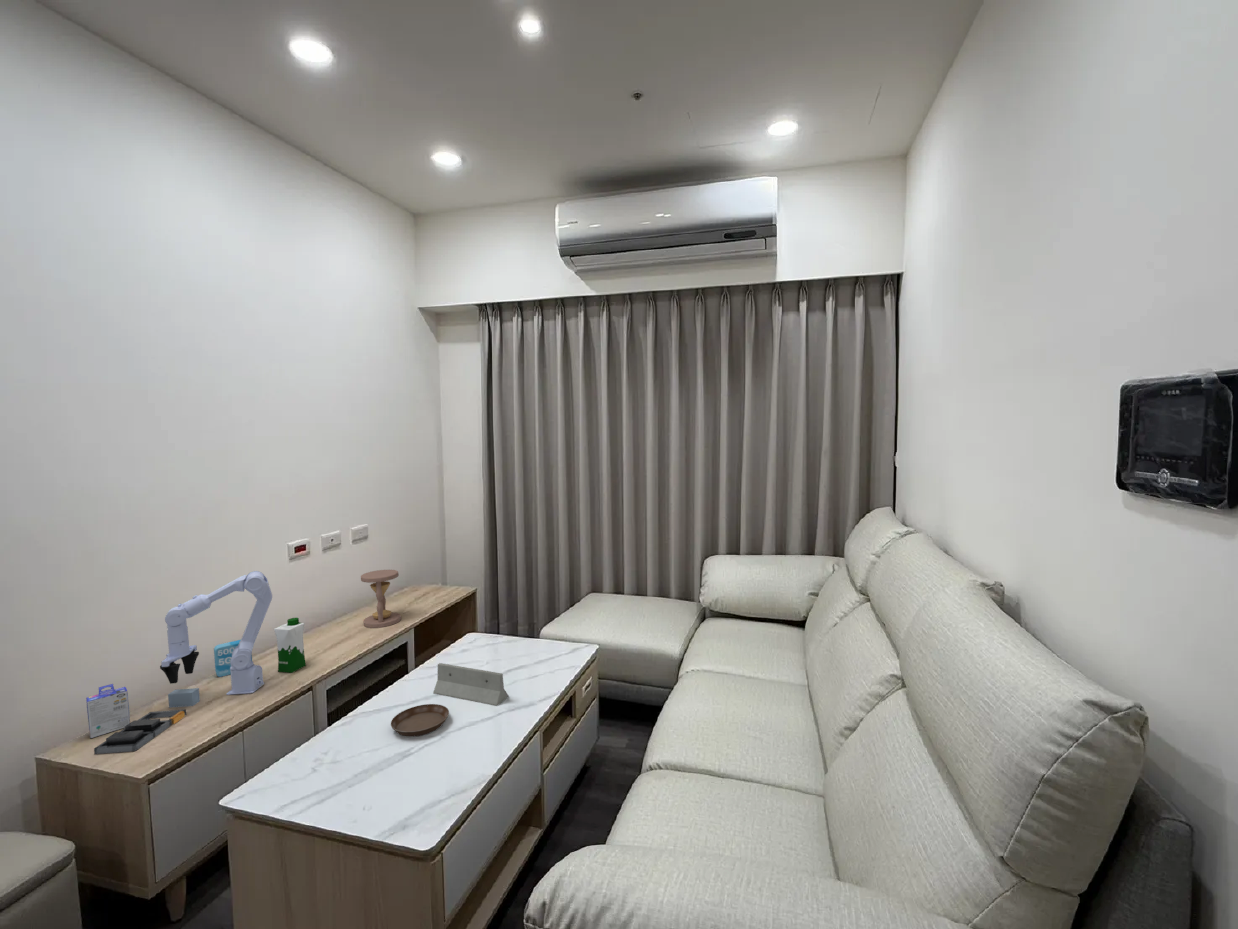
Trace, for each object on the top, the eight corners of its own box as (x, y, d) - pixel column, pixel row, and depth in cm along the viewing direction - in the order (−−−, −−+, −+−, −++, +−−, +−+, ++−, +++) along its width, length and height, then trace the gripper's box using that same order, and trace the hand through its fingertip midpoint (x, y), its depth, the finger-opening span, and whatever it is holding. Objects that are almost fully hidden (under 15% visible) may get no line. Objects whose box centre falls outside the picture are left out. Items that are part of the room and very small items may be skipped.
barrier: (508, 697, 193) (507, 669, 192) (496, 706, 186) (495, 678, 186) (446, 685, 203) (445, 659, 203) (433, 694, 197) (431, 667, 196)
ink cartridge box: (129, 720, 184) (125, 679, 184) (131, 726, 181) (127, 683, 180) (88, 733, 177) (84, 690, 176) (90, 739, 173) (86, 695, 173)
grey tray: (187, 714, 187) (187, 704, 187) (136, 751, 166) (135, 740, 165) (150, 716, 186) (149, 707, 186) (94, 754, 165) (93, 743, 164)
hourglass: (370, 617, 285) (367, 570, 283) (405, 615, 287) (402, 568, 285) (358, 629, 267) (355, 579, 266) (395, 626, 269) (392, 577, 268)
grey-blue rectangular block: (199, 701, 197) (198, 688, 197) (192, 706, 193) (191, 692, 193) (176, 703, 196) (175, 689, 196) (169, 708, 193) (168, 694, 192)
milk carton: (309, 665, 226) (306, 617, 225) (291, 674, 217) (288, 625, 216) (292, 663, 228) (289, 616, 227) (273, 672, 219) (270, 624, 218)
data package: (216, 678, 216) (214, 648, 216) (215, 674, 220) (213, 645, 219) (252, 668, 224) (250, 640, 223) (251, 665, 227) (249, 637, 227)
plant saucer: (392, 718, 180) (391, 709, 180) (447, 707, 187) (447, 699, 187) (390, 746, 164) (389, 736, 164) (451, 733, 170) (450, 724, 170)
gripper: (181, 634, 201) (184, 670, 202) (150, 649, 187) (154, 688, 187) (201, 633, 202) (204, 668, 202) (172, 648, 187) (175, 686, 188)
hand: (181, 678), depth 195 cm, fingers open, 7 cm apart
